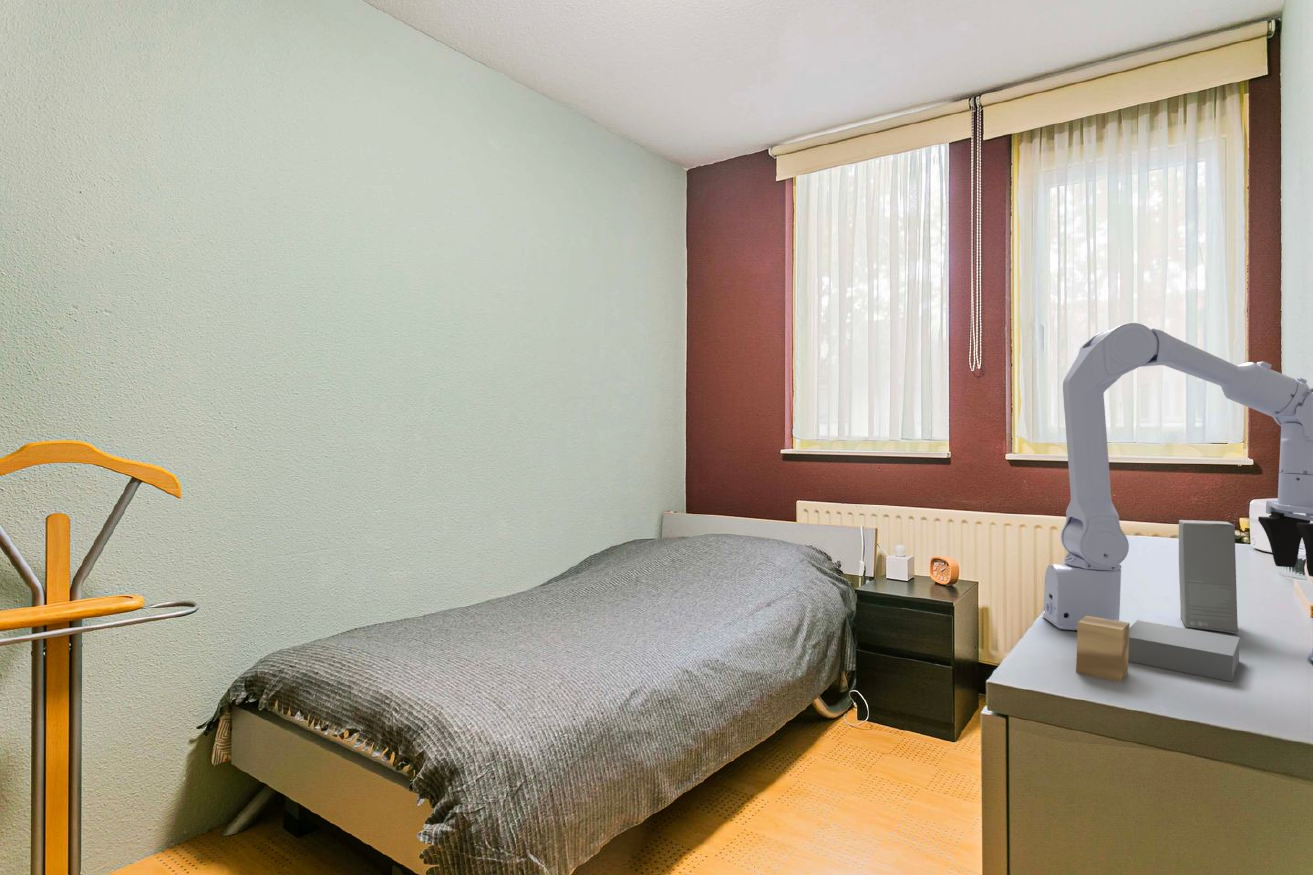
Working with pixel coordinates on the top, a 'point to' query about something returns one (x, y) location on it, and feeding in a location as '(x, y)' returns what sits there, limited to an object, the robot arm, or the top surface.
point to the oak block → (1102, 648)
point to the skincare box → (1208, 575)
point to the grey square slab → (1184, 650)
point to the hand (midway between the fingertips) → (1301, 571)
